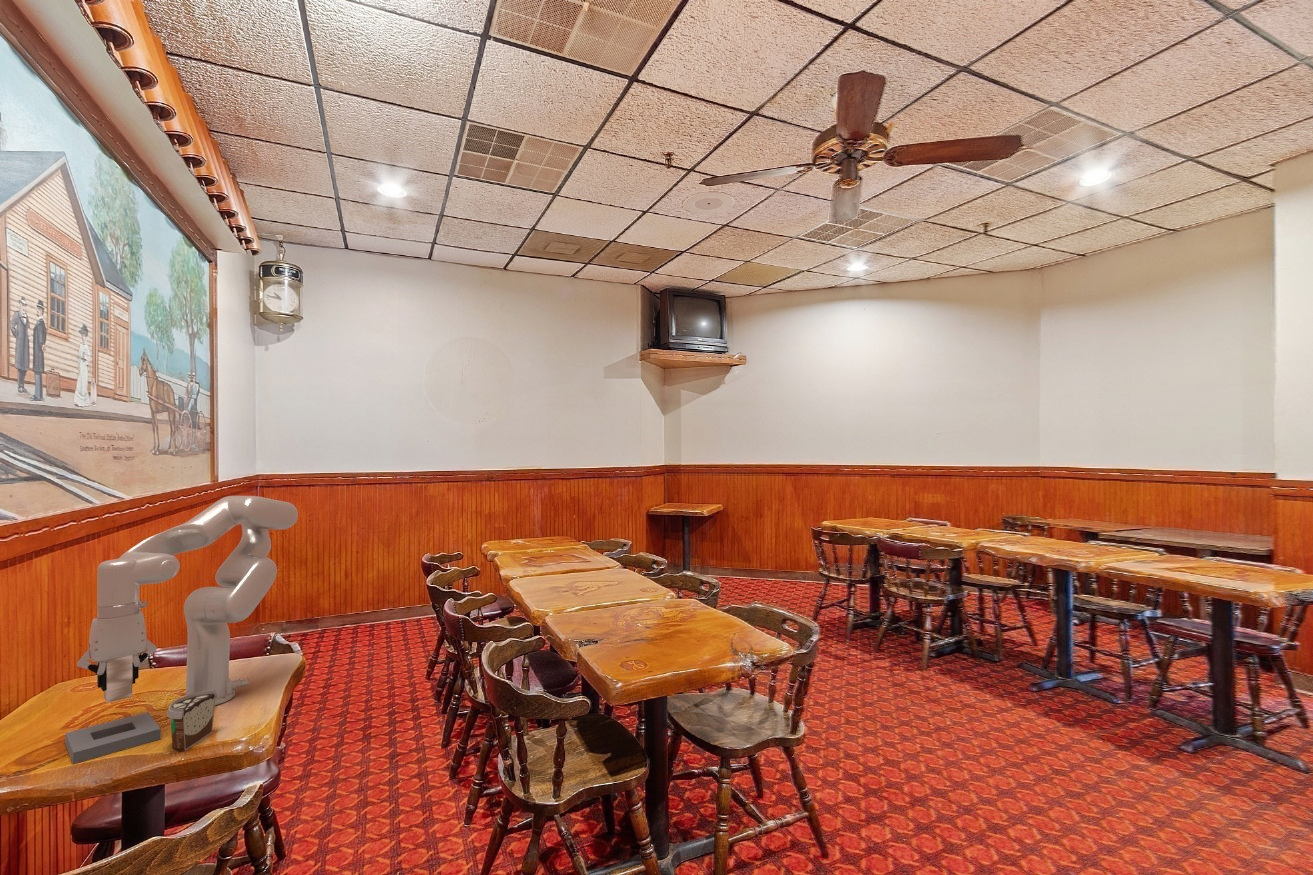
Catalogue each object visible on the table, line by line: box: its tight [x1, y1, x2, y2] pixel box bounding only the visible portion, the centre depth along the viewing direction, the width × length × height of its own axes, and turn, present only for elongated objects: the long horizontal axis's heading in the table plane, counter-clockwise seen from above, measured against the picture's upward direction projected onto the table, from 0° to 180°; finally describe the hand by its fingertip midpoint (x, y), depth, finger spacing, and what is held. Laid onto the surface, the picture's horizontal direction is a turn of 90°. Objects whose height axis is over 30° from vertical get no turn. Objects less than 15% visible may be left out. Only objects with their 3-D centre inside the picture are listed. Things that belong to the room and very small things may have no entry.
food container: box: [166, 690, 217, 752], centre depth 139 cm, size 12×6×10 cm, turn 5°
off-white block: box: [103, 655, 133, 704], centre depth 141 cm, size 4×4×10 cm
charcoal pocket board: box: [64, 711, 162, 765], centre depth 139 cm, size 15×15×2 cm
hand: (118, 685), depth 141 cm, fingers closed on off-white block, 4 cm apart
